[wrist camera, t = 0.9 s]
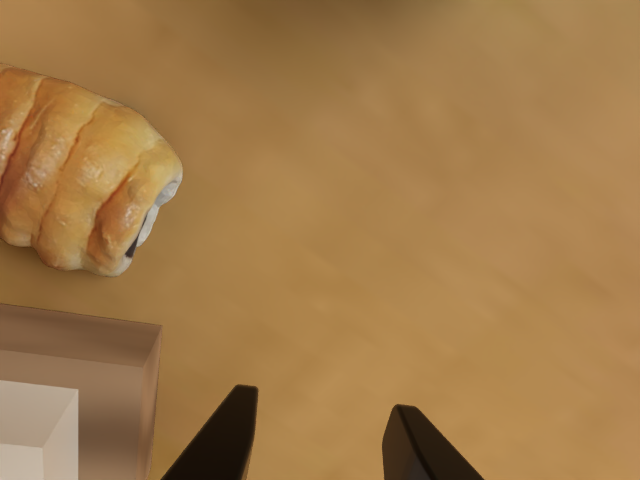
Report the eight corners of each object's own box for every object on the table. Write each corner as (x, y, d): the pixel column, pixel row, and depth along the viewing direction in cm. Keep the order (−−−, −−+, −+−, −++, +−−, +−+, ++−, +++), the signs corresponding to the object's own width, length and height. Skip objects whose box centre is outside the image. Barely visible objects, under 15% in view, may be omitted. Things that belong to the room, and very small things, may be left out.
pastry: (-90, 165, 19) (-178, 194, 15) (-39, 2, 17) (-127, -8, 13) (135, 272, 21) (104, 319, 18) (204, 141, 19) (184, 163, 16)
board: (150, 467, 25) (133, 520, 23) (-73, 445, 24) (-121, 498, 21) (162, 325, 22) (143, 367, 19) (-98, 290, 21) (-158, 329, 18)
